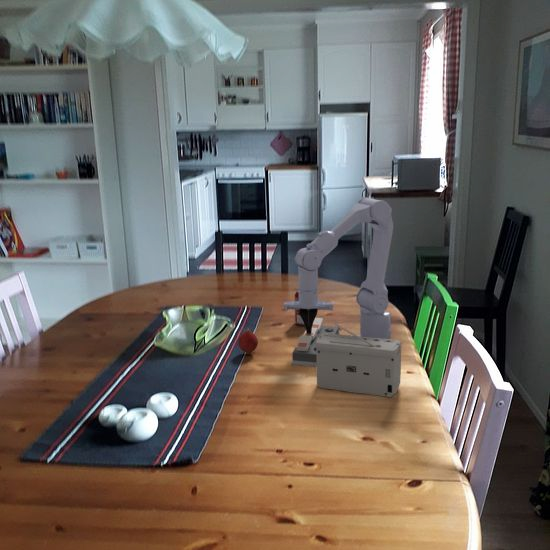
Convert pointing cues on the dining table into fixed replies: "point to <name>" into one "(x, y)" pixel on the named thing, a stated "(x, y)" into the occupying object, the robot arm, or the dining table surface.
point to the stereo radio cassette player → (358, 363)
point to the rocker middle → (312, 333)
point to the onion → (248, 342)
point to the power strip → (311, 349)
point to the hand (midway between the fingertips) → (309, 332)
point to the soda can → (297, 315)
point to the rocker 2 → (317, 323)
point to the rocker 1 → (304, 343)
